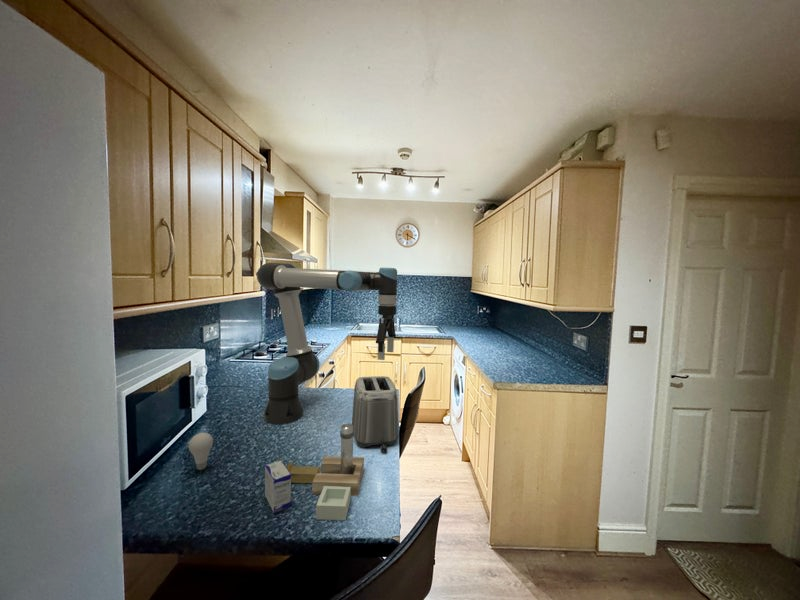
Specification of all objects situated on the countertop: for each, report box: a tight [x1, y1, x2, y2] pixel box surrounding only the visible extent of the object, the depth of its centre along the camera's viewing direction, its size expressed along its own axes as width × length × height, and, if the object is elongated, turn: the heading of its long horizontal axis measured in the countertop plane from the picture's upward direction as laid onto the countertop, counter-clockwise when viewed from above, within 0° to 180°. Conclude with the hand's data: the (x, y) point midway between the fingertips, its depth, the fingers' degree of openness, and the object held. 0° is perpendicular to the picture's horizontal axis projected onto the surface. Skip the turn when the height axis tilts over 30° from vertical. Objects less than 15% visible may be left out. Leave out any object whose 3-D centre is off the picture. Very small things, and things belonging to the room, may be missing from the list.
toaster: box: [351, 375, 399, 454], centre depth 116 cm, size 17×30×19 cm, turn 10°
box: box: [264, 460, 292, 514], centre depth 80 cm, size 8×4×9 cm, turn 38°
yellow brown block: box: [285, 462, 321, 484], centre depth 89 cm, size 5×9×3 cm, turn 89°
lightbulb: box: [188, 432, 214, 471], centre depth 93 cm, size 6×6×11 cm
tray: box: [315, 486, 352, 521], centre depth 78 cm, size 7×7×4 cm
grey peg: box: [339, 423, 354, 474], centre depth 89 cm, size 4×4×16 cm
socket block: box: [311, 455, 365, 497], centre depth 89 cm, size 12×12×4 cm
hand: (385, 355), depth 131 cm, fingers open, 13 cm apart
